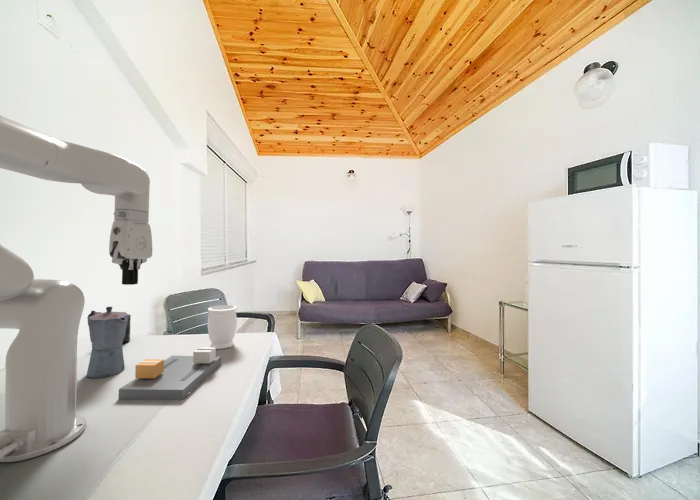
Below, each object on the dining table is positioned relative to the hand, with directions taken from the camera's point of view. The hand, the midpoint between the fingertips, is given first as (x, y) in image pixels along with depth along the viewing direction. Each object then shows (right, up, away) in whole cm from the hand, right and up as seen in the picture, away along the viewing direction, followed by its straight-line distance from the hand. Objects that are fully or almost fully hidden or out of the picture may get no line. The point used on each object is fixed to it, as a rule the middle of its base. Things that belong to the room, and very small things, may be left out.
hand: (129, 284), depth 78 cm
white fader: (+15, -25, +10) cm, 31 cm away
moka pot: (-14, -28, +8) cm, 32 cm away
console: (+10, -28, +4) cm, 30 cm away
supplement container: (-30, -27, +33) cm, 53 cm away
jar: (+11, -28, +32) cm, 44 cm away
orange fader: (+6, -25, 0) cm, 26 cm away
